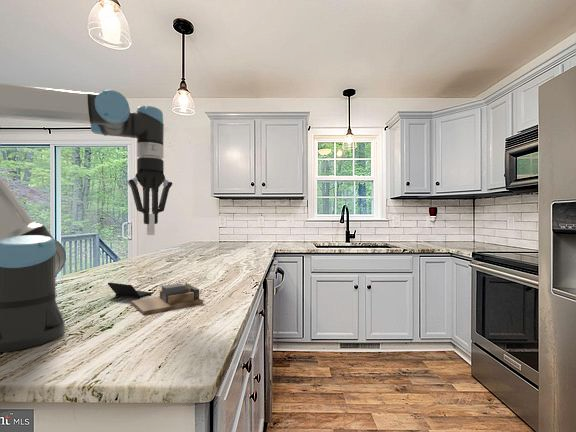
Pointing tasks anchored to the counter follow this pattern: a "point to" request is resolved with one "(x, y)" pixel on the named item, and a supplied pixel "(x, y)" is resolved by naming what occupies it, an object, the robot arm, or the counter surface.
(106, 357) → the counter surface
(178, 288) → the plug block
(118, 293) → the black angled piece
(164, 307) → the header board
